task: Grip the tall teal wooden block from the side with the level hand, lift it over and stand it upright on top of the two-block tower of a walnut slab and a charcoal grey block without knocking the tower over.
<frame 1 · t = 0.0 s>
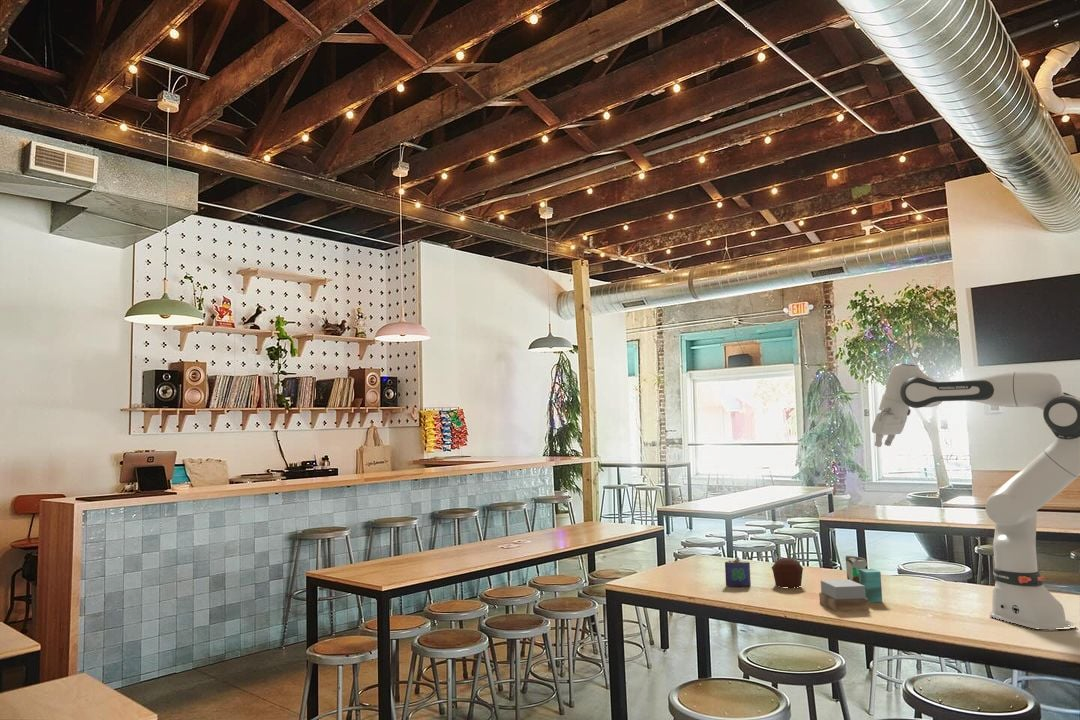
hand: (882, 445, 250), 52 cm above the table, tool tilted 20°, fingers open, 8 cm apart
food container: (859, 586, 263), on the table
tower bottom: (843, 608, 235), on the table, touching tower top
tower top: (843, 595, 236), point 4 cm above the table, touching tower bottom
flask: (738, 586, 267), on the table
muffin: (788, 586, 266), on the table
teal block: (871, 600, 242), on the table
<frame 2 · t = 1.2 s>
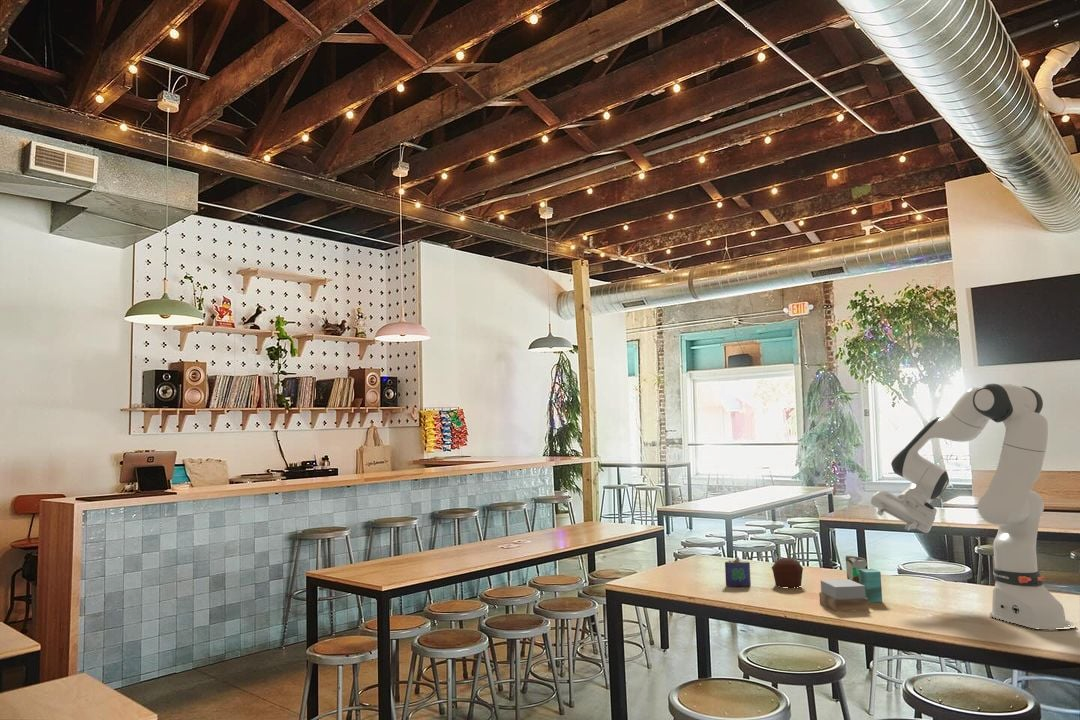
hand: (893, 520, 243), 27 cm above the table, tool tilted 70°, fingers open, 8 cm apart
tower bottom: (843, 607, 235), on the table
tower top: (843, 595, 236), point 4 cm above the table
everything else where it was.
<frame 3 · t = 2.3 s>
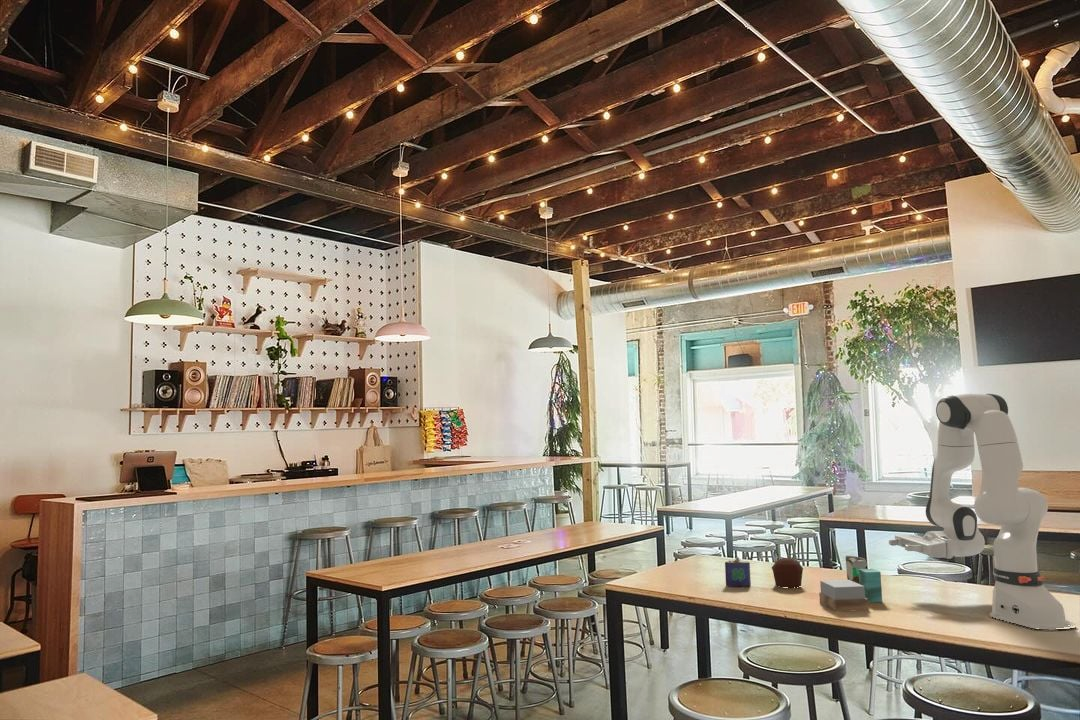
hand: (897, 545, 245), 18 cm above the table, tool horizontal, fingers open, 8 cm apart
nothing on the table moved.
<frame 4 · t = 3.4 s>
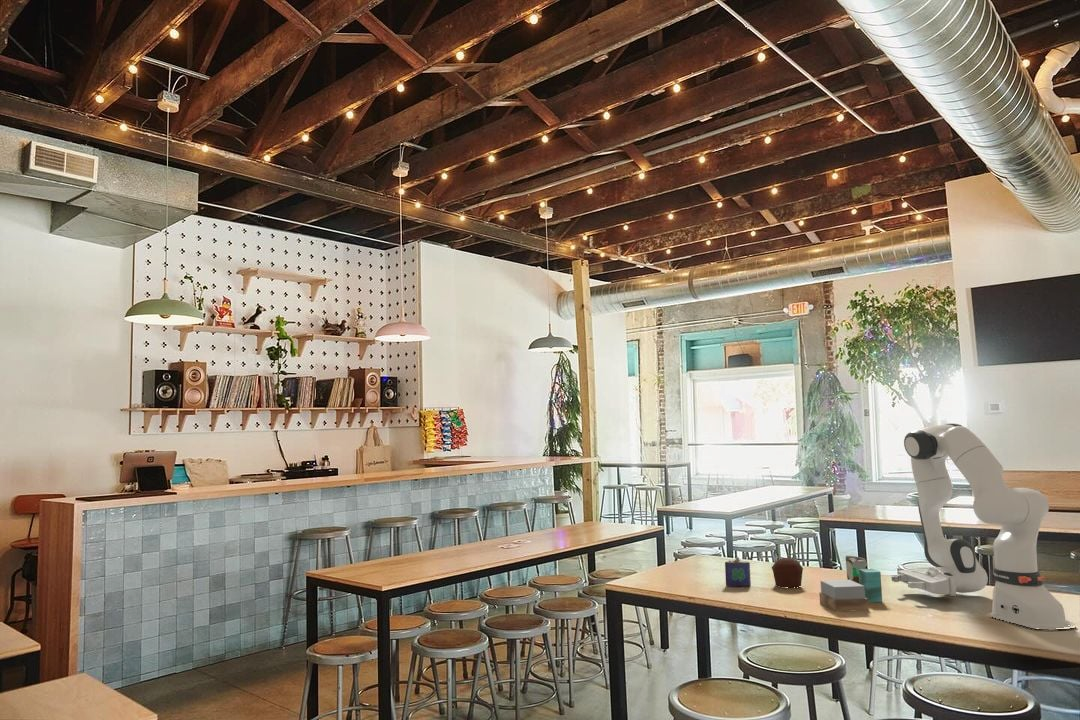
hand: (900, 582, 244), 6 cm above the table, tool horizontal, fingers open, 8 cm apart
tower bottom: (843, 607, 235), on the table, touching tower top
tower top: (842, 595, 236), point 4 cm above the table, touching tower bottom
everything else where it was.
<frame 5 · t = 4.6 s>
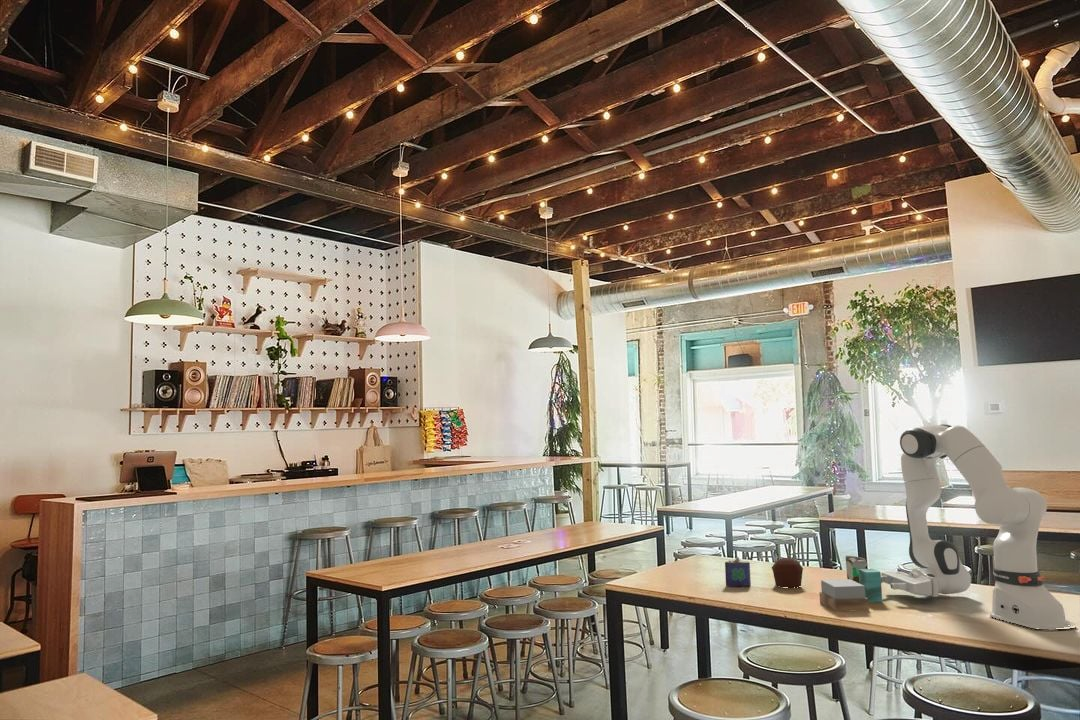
hand: (883, 583, 243), 5 cm above the table, tool horizontal, fingers open, 8 cm apart
nothing on the table moved.
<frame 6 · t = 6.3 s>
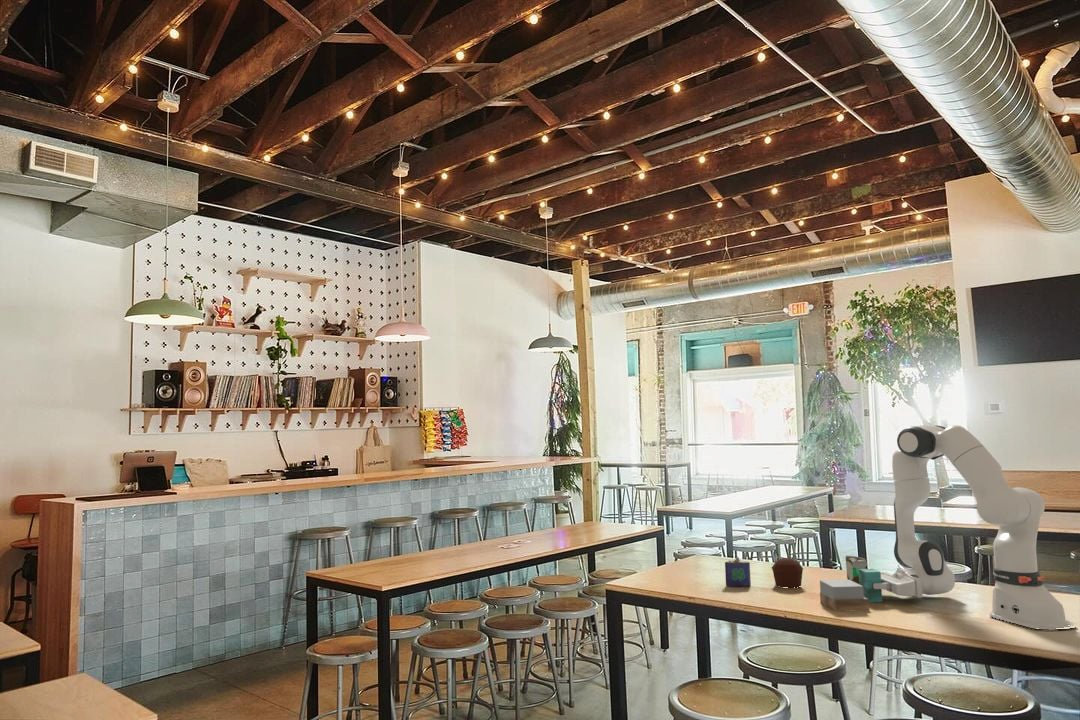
hand: (867, 583, 243), 6 cm above the table, tool horizontal, fingers closed on teal block, 5 cm apart
teal block: (871, 600, 242), on the table, touching gripper
everything else where it was.
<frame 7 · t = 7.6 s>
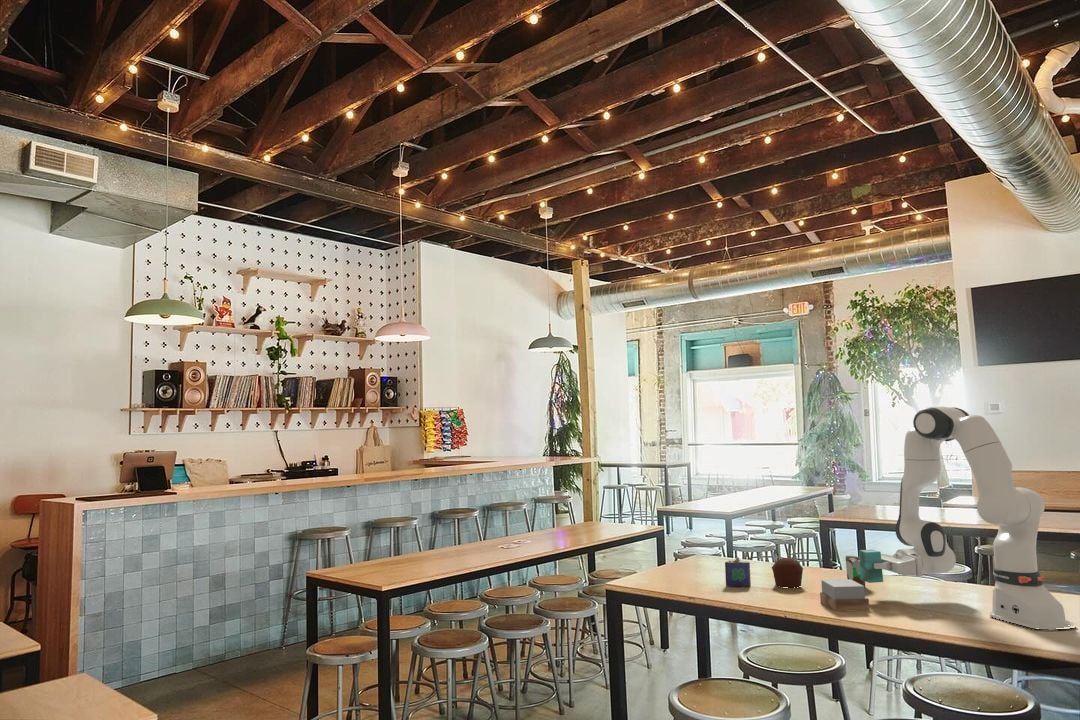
hand: (868, 564, 243), 12 cm above the table, tool horizontal, fingers closed on teal block, 5 cm apart
teal block: (872, 581, 242), point 7 cm above the table, touching gripper
everything else where it was.
when the fingers open (15 cm above the table, at t = 11.4 s): teal block drops 2 cm, point 8 cm above the table.
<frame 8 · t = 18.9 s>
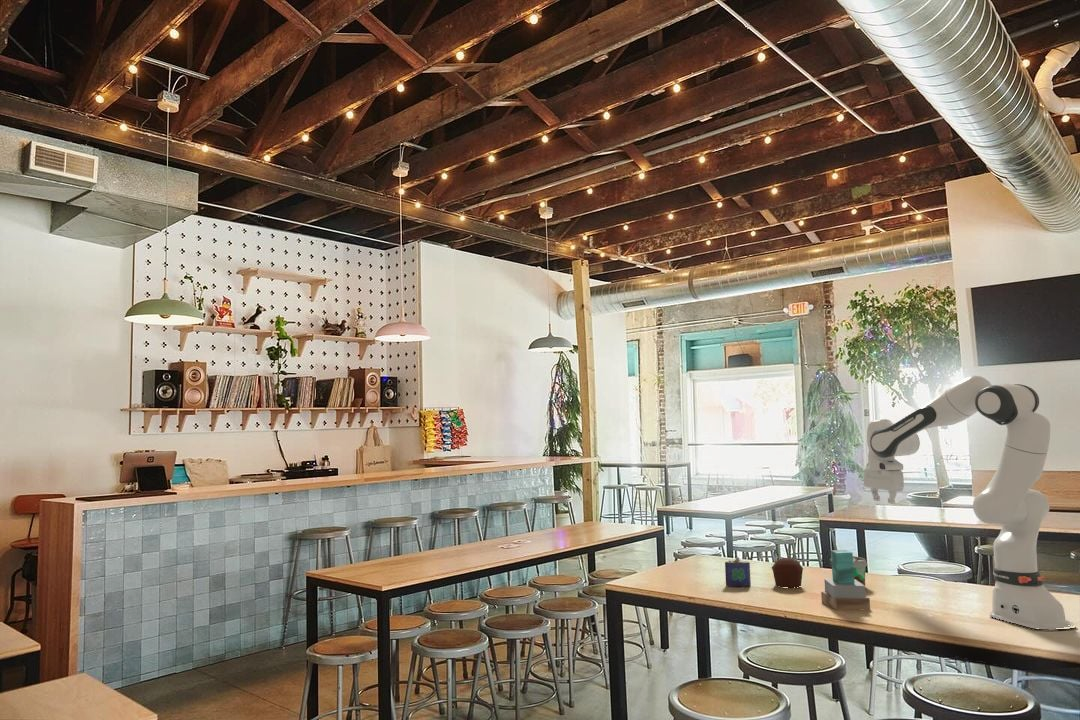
hand: (883, 502, 260), 31 cm above the table, tool pointing down, fingers open, 8 cm apart
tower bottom: (845, 607, 236), on the table
tower top: (844, 594, 237), point 4 cm above the table
teal block: (843, 582, 237), point 8 cm above the table
everything else where it was.
at the end: teal block 0.2 cm off-centre on the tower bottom, point 8.0 cm above the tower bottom's base; tower top 0.1 cm off-centre on the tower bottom, point 4.0 cm above the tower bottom's base; teal block tilted 1° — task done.
